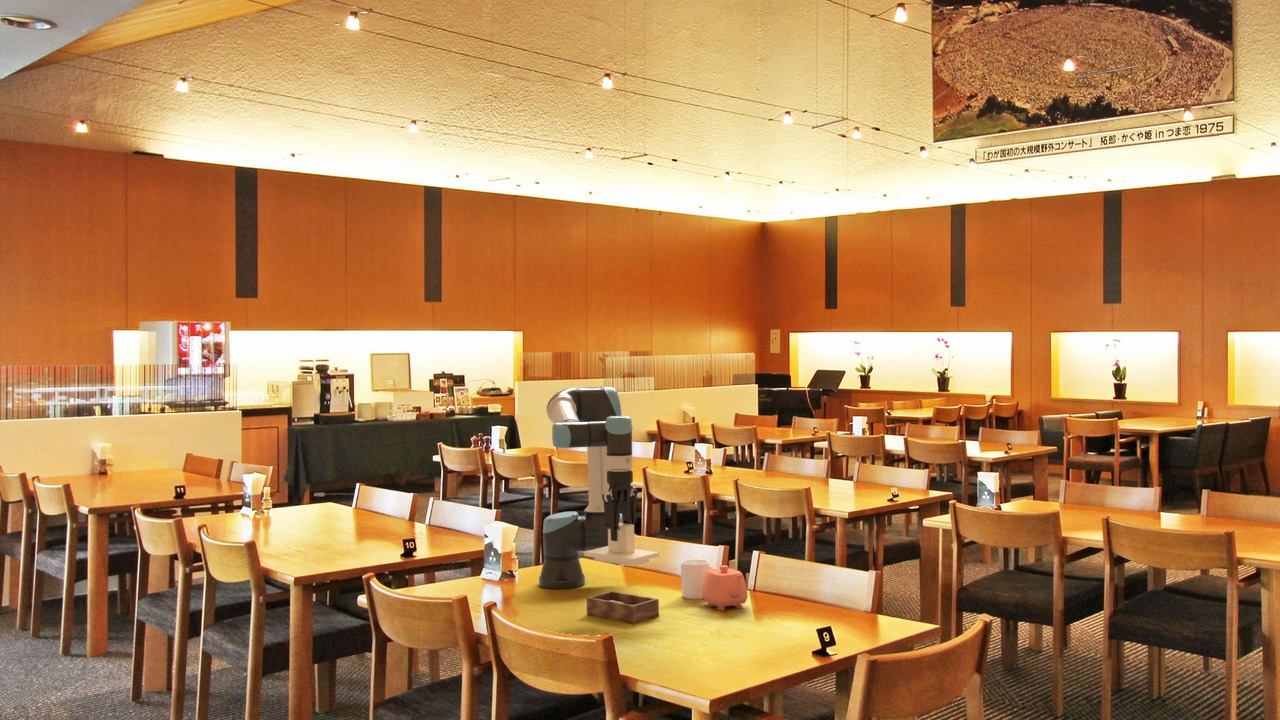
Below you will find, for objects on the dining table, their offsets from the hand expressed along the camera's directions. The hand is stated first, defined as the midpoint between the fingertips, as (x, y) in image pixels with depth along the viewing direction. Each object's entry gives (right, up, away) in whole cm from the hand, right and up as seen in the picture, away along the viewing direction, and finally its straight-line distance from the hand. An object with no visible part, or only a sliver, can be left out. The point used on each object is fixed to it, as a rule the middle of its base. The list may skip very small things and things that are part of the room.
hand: (621, 550), depth 307 cm
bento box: (0, -19, 0) cm, 19 cm away
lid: (0, -3, 0) cm, 3 cm away
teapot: (+31, -18, +8) cm, 37 cm away
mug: (+24, -18, +23) cm, 38 cm away
